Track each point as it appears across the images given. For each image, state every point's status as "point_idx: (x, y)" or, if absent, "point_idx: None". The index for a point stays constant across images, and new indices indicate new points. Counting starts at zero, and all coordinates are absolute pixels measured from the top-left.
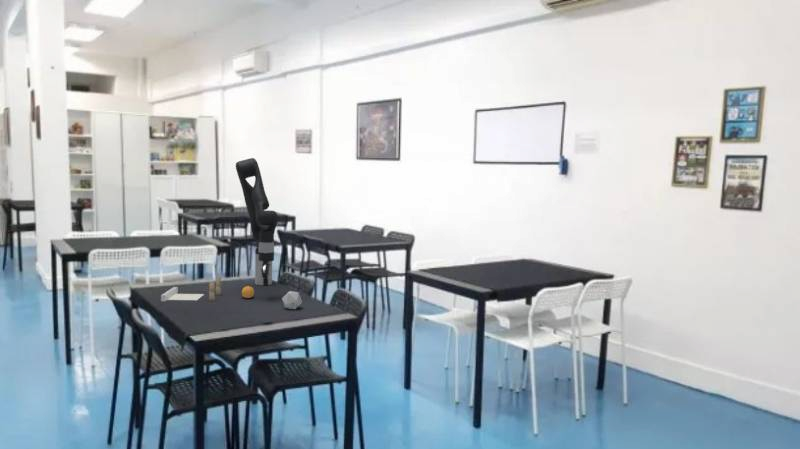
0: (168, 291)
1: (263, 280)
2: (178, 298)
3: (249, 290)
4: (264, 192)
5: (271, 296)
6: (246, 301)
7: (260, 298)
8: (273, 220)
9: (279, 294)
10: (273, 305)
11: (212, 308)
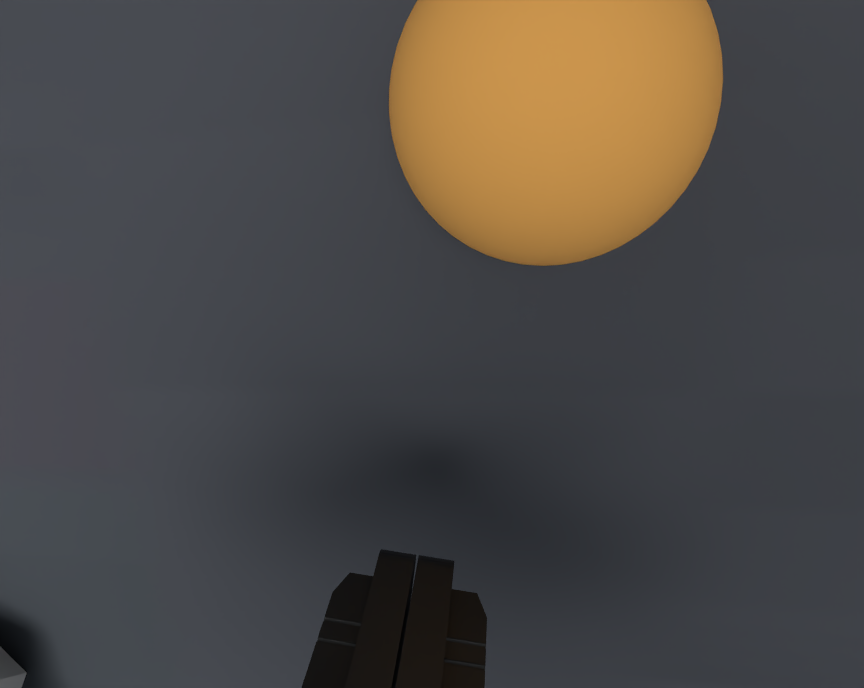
0: None
1: (352, 670)
2: None
3: (407, 167)
4: None
5: (637, 495)
6: (233, 96)
7: (493, 336)
8: None
9: (774, 600)
10: (46, 492)
11: None
